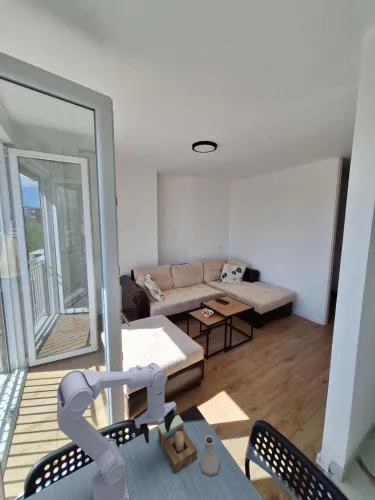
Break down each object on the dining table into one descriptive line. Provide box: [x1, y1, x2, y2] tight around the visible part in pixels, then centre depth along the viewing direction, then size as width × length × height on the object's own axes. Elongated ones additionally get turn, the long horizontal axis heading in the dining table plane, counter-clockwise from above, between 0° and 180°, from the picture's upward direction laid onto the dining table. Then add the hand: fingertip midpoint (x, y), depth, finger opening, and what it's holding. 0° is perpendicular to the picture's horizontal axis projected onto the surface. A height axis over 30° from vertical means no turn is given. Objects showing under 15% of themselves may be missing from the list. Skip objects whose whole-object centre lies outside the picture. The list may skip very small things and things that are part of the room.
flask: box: [198, 434, 221, 477], centre depth 76 cm, size 7×7×10 cm
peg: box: [174, 431, 184, 455], centre depth 80 cm, size 3×3×8 cm
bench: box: [157, 414, 185, 449], centre depth 86 cm, size 9×4×6 cm, turn 121°
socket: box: [162, 429, 198, 474], centre depth 80 cm, size 9×9×4 cm
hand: (157, 435), depth 78 cm, fingers open, 7 cm apart
